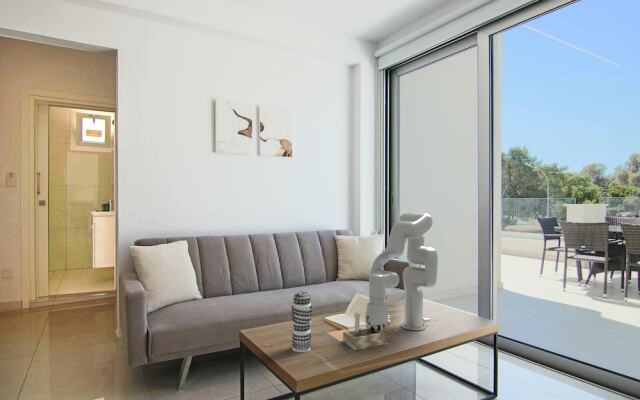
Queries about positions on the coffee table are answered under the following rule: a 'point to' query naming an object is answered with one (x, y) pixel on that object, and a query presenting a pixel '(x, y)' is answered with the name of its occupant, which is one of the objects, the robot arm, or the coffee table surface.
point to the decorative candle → (301, 322)
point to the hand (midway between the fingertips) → (376, 339)
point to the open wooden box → (363, 338)
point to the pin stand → (338, 335)
